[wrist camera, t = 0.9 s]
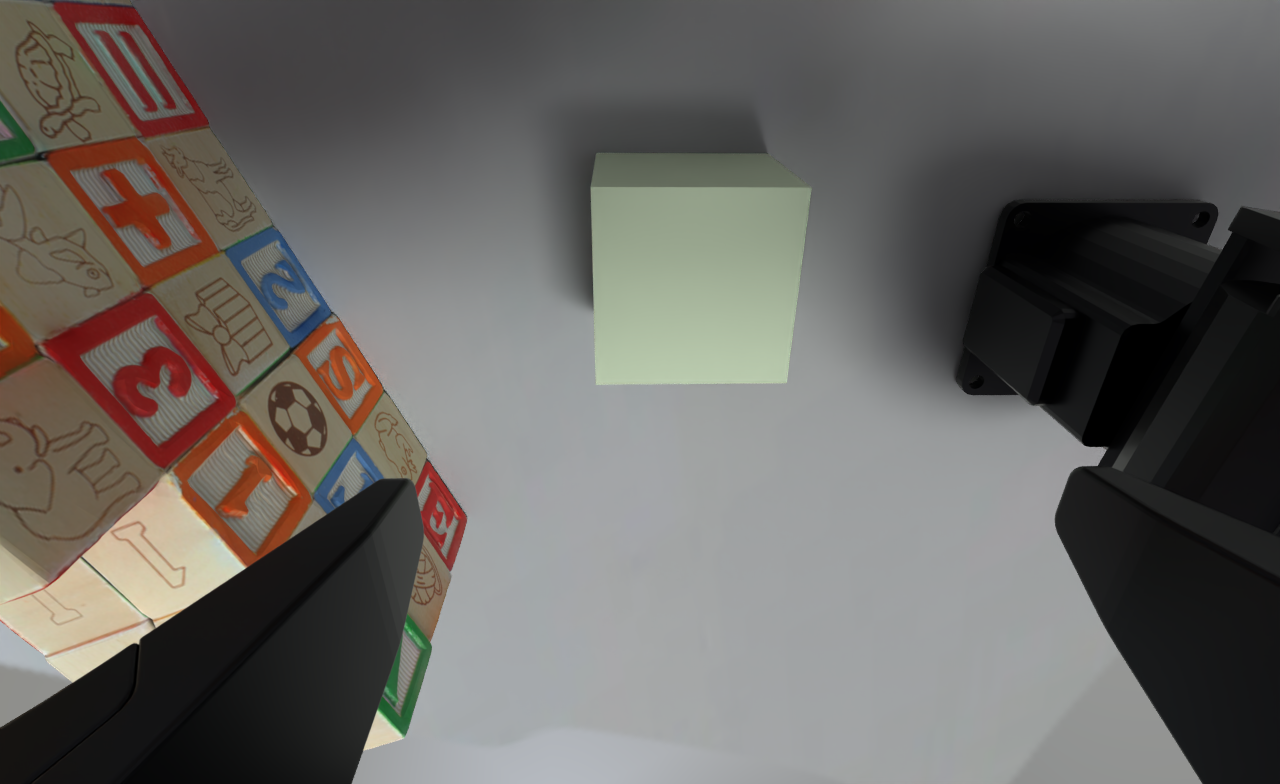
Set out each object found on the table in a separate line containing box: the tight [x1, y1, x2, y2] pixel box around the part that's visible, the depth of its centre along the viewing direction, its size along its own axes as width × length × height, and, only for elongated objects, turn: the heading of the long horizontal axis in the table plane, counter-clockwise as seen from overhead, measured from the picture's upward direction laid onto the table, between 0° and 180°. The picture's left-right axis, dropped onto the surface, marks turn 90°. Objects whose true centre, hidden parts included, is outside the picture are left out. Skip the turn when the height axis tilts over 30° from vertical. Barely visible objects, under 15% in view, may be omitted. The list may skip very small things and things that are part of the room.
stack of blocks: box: [0, 0, 467, 751], centre depth 16 cm, size 21×6×12 cm, turn 22°
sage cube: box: [591, 153, 812, 385], centre depth 18 cm, size 5×5×5 cm
